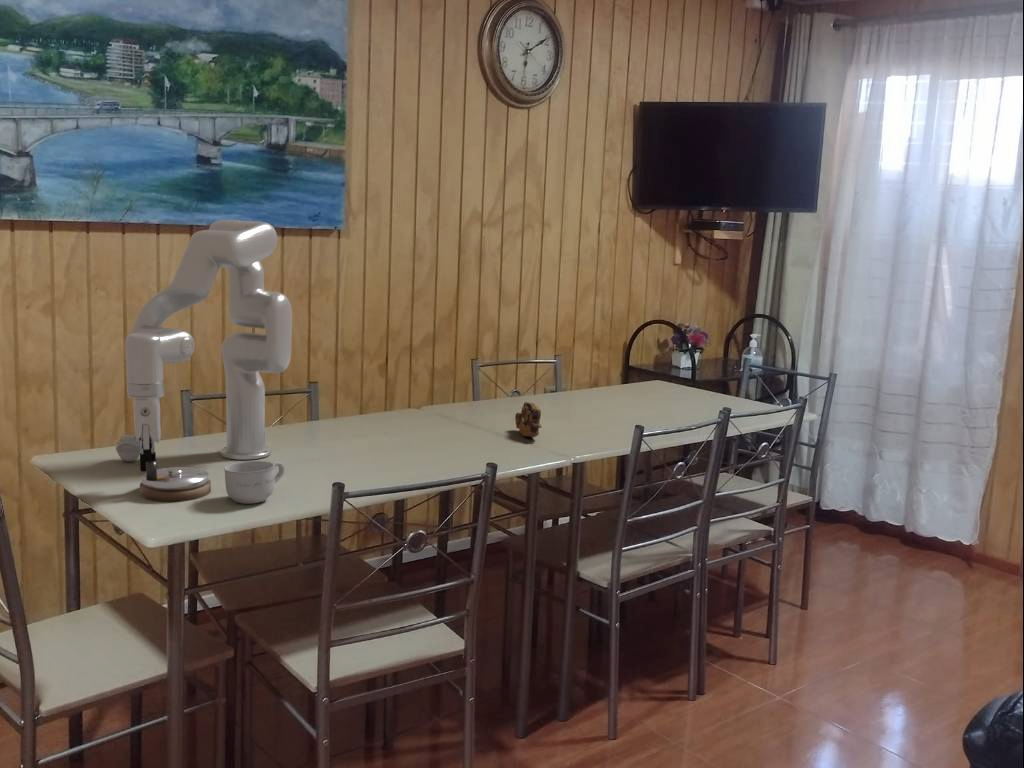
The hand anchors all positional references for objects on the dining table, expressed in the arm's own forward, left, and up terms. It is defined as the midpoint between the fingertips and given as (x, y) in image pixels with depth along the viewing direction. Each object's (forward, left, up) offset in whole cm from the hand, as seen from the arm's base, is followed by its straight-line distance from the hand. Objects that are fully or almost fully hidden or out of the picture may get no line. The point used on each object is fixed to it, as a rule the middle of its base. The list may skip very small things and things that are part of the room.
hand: (148, 470), depth 220 cm
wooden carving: (-39, +103, -5) cm, 110 cm away
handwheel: (+1, +6, -3) cm, 6 cm away
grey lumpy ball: (-27, -5, -5) cm, 28 cm away
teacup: (+9, +23, -5) cm, 25 cm away
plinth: (+1, +6, -5) cm, 8 cm away
